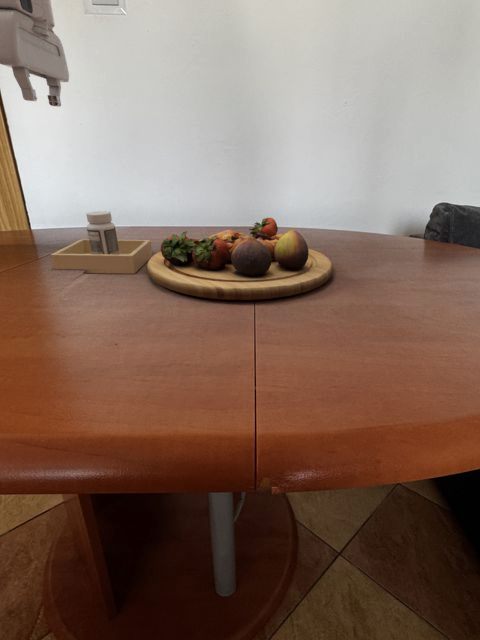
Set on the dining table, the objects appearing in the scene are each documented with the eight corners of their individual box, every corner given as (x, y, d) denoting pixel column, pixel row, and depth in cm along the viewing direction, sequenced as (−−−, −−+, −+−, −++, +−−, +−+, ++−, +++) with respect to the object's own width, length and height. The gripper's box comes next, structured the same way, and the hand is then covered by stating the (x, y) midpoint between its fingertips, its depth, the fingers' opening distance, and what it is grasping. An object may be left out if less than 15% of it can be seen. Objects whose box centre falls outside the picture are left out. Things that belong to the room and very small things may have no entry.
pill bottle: (118, 256, 72) (111, 210, 69) (122, 262, 69) (114, 213, 65) (92, 258, 71) (83, 211, 67) (94, 264, 67) (84, 215, 63)
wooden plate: (229, 243, 87) (228, 205, 83) (360, 267, 71) (367, 221, 67) (108, 275, 63) (99, 224, 60) (262, 322, 47) (263, 256, 43)
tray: (54, 272, 64) (50, 254, 63) (84, 254, 75) (81, 238, 74) (134, 273, 65) (132, 255, 63) (152, 255, 76) (150, 240, 74)
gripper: (37, 26, 75) (53, 108, 82) (-33, -13, 57) (-6, 96, 64) (69, 27, 75) (82, 109, 82) (9, -11, 57) (32, 97, 64)
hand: (43, 103), depth 73 cm, fingers open, 8 cm apart
